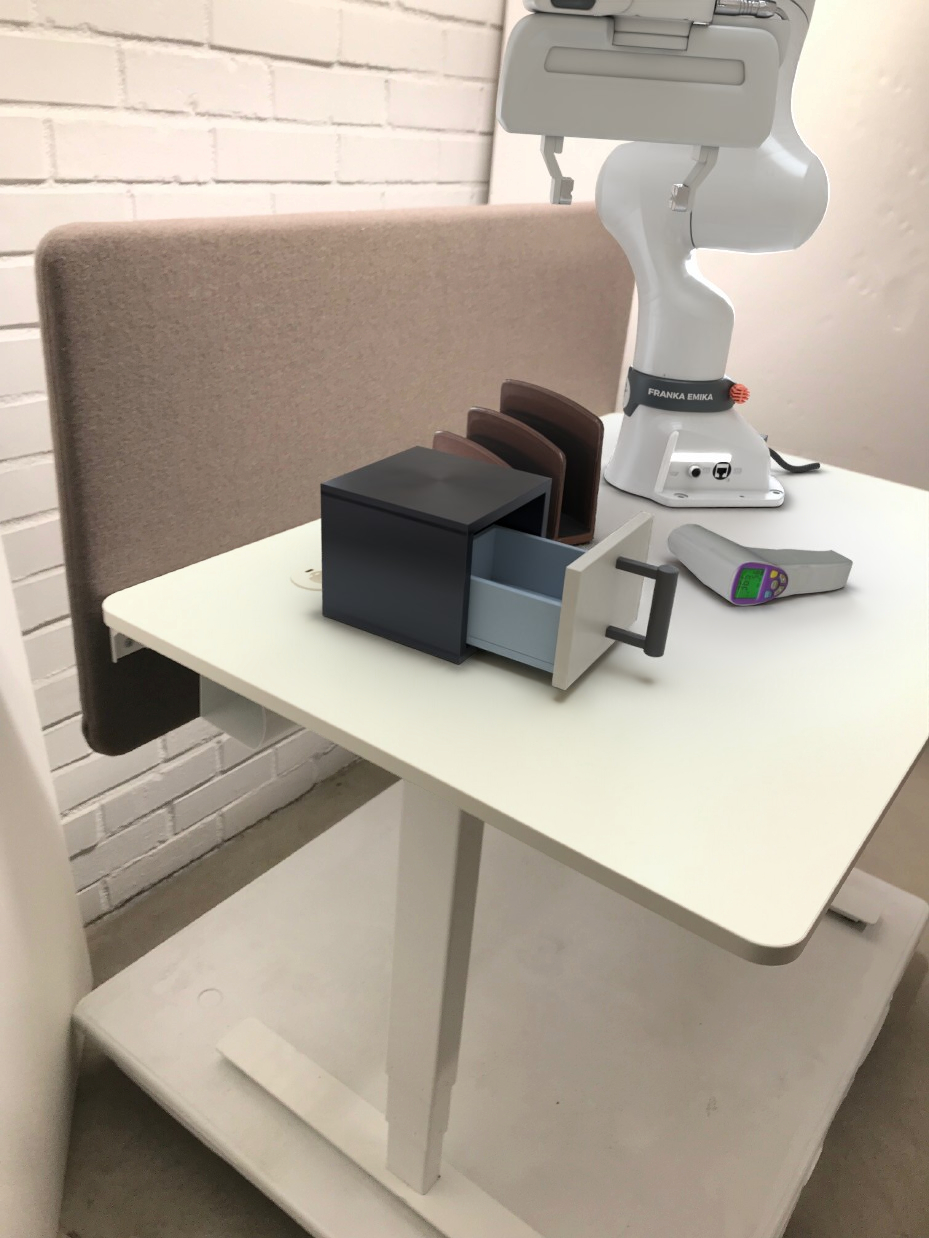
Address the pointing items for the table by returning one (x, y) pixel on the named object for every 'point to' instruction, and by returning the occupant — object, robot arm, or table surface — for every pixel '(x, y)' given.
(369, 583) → the cabinet
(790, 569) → the infrared thermometer
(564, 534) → the letter holder
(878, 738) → the table surface
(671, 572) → the open pull-out drawer
